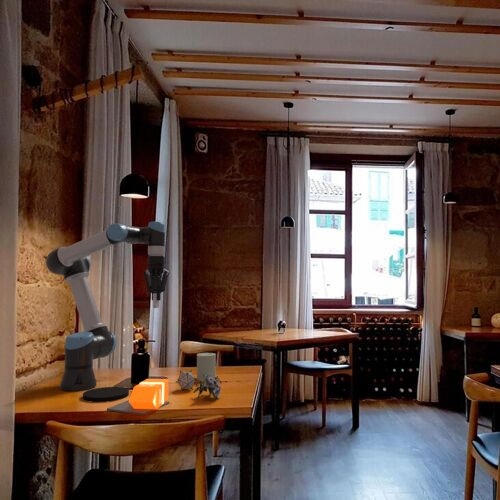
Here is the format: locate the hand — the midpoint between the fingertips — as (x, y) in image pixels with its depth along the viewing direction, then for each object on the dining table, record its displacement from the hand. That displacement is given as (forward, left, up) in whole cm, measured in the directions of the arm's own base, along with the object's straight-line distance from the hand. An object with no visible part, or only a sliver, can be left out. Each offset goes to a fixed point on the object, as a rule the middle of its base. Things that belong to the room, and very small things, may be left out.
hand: (156, 307), depth 201 cm
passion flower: (+32, -11, -35) cm, 48 cm away
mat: (+14, -31, -34) cm, 48 cm away
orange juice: (+15, -21, -30) cm, 39 cm away
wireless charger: (-8, -23, -35) cm, 43 cm away
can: (+15, +20, -35) cm, 43 cm away
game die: (+17, -2, -35) cm, 39 cm away
